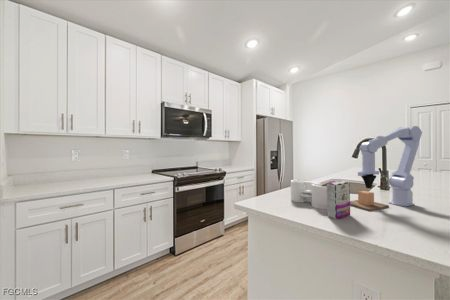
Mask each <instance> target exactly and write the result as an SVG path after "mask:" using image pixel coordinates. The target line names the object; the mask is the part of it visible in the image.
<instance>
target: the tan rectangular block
mask: <svg viewBox="0 0 450 300" xmlns="http://www.w3.org/2000/svg"><path fill="white" fill-rule="evenodd" d="M357 198H358V199H357V200H358V203H359V204H363V205H367V206H369V205H374V202H375V192H371V191H368V190H361V191H357Z"/></svg>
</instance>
